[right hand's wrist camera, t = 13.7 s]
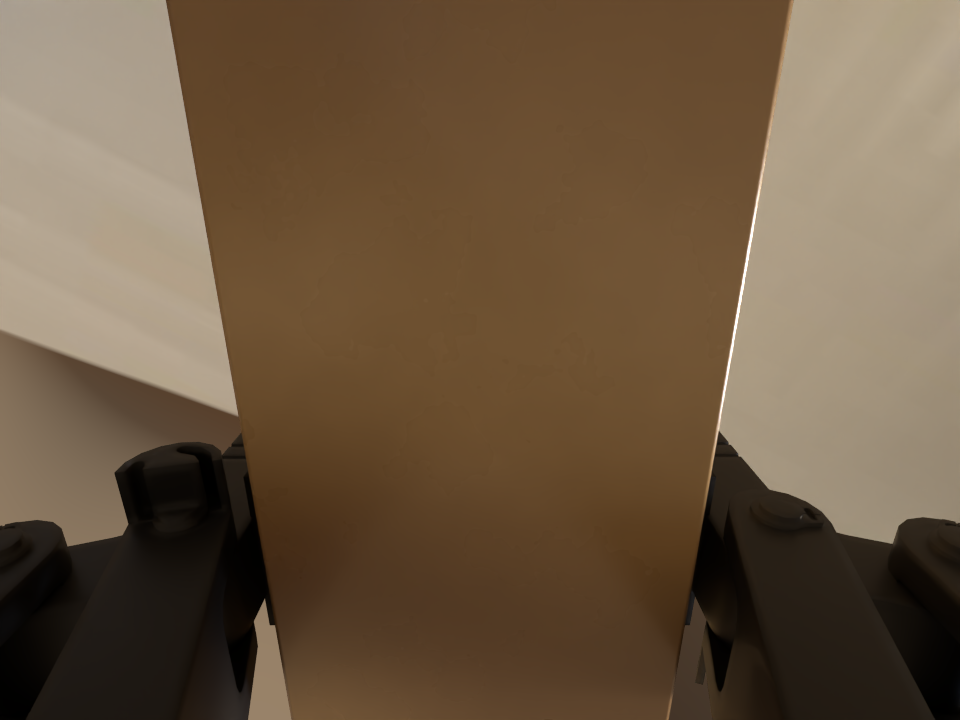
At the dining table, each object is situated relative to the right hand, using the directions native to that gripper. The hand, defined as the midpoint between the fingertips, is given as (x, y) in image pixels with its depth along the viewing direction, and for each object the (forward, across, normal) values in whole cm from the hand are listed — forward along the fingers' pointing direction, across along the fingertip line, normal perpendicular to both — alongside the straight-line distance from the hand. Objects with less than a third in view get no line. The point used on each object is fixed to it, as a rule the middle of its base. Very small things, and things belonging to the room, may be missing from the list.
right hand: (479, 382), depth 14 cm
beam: (+1, 0, -23) cm, 23 cm away
